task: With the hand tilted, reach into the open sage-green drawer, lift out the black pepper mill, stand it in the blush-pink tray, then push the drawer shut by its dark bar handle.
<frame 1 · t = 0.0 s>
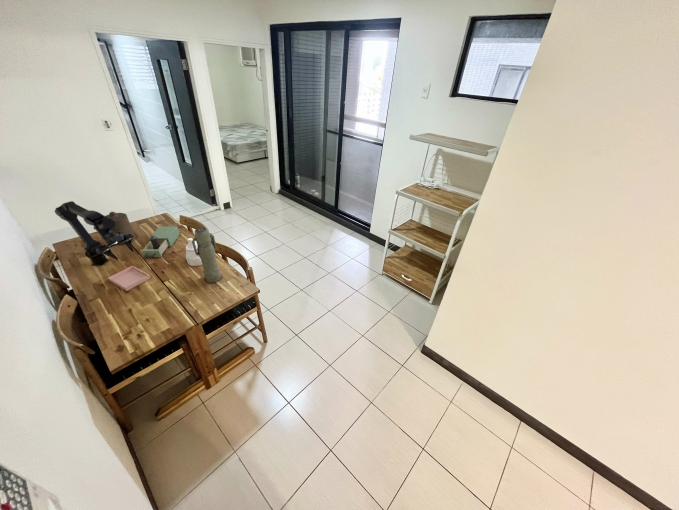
hand: (125, 255, 160), 15 cm above the table, tool tilted 35°, fingers open, 9 cm apart
pepper mill: (157, 248, 190), point 2 cm above the table, touching drawer
wooden container: (124, 239, 201), on the table
tray: (130, 279, 165), on the table
thermos: (213, 278, 171), on the table
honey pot: (198, 260, 185), on the table
cabinet: (166, 240, 203), on the table
drawer: (155, 248, 187), point 4 cm above the table, slide at 13.0 cm, touching pepper mill
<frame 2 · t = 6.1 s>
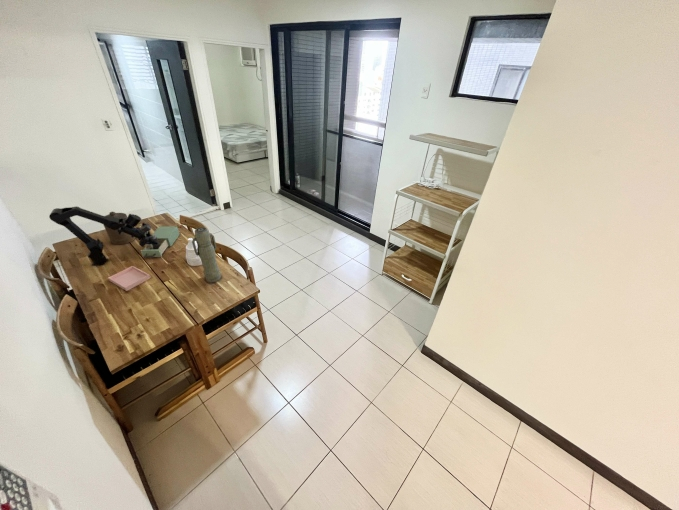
hand: (157, 242, 188), 7 cm above the table, tool tilted 45°, fingers closed on pepper mill, 4 cm apart
pepper mill: (157, 248, 190), point 2 cm above the table, touching drawer, gripper
everything else where it was.
when the fingers open (6 cm above the table, at t = 14.7 s): pepper mill stays where it is, resting on tray.
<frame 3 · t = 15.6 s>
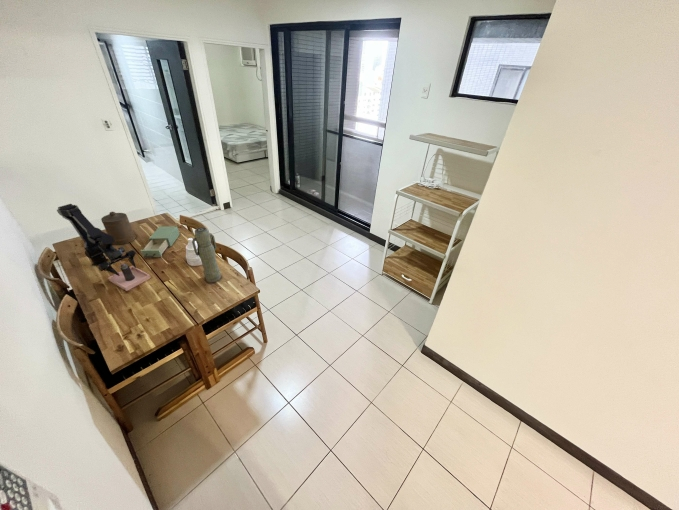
hand: (127, 271, 161), 7 cm above the table, tool tilted 45°, fingers open, 9 cm apart
pepper mill: (130, 278, 165), resting on tray
drawer: (155, 248, 187), point 4 cm above the table, slide at 13.0 cm
everything else where it was.
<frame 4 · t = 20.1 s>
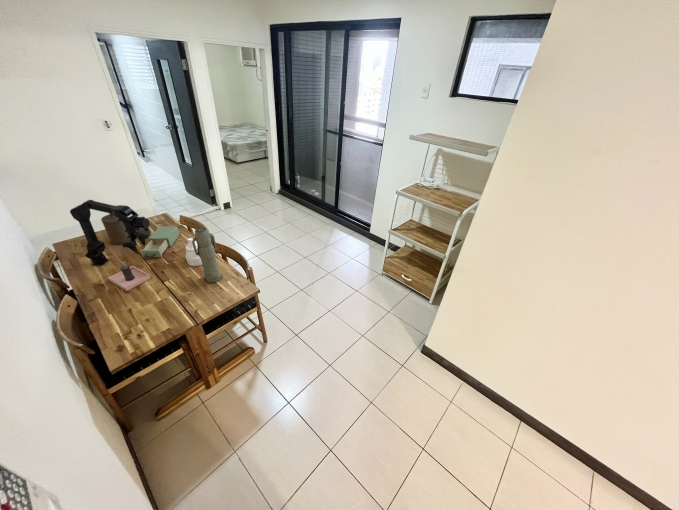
hand: (140, 249, 171), 12 cm above the table, tool pointing down, fingers open, 9 cm apart
nothing on the table moved.
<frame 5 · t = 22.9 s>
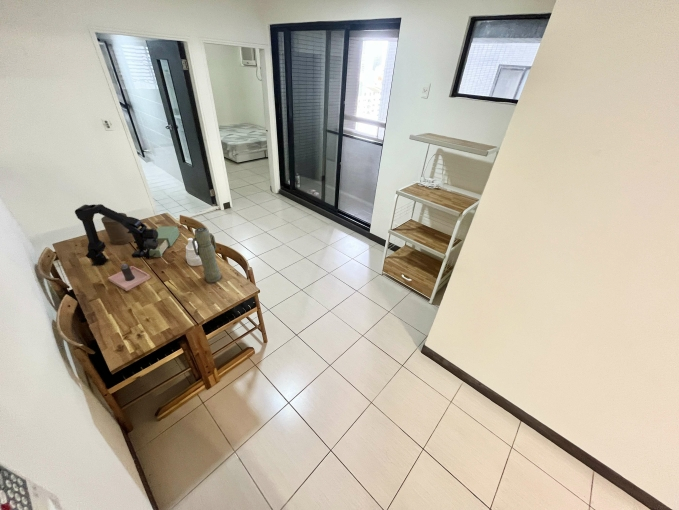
hand: (148, 258, 179), 3 cm above the table, tool pointing down, fingers closed
drawer: (155, 248, 187), point 4 cm above the table, slide at 12.7 cm, touching gripper
everything else where it was.
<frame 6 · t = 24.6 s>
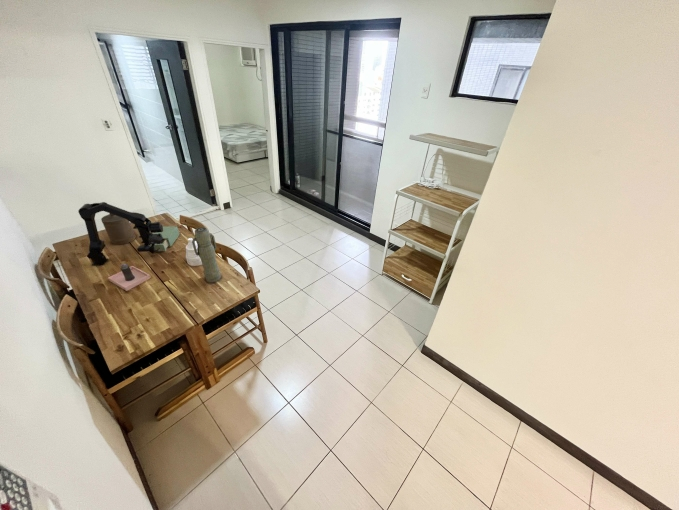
hand: (152, 253, 184), 3 cm above the table, tool pointing down, fingers closed
drawer: (159, 243, 193), point 4 cm above the table, slide at 5.9 cm, touching gripper
everything else where it was.
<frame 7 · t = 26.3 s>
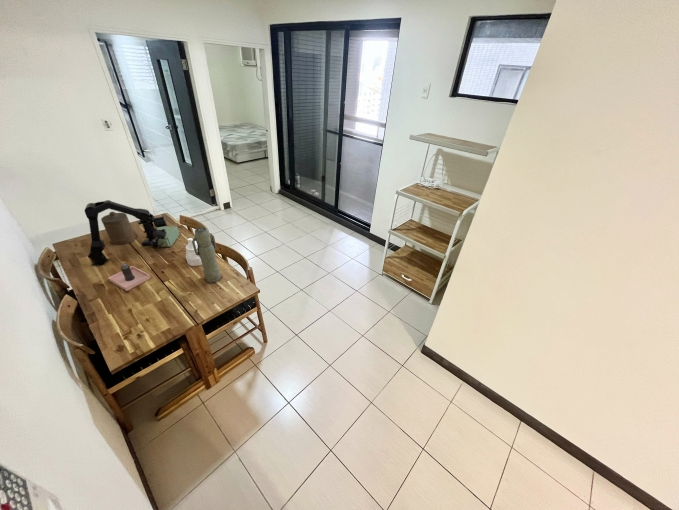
hand: (156, 248, 189), 3 cm above the table, tool pointing down, fingers closed
drawer: (162, 239, 198), point 4 cm above the table, slide at 0.0 cm, touching cabinet, gripper
everything else where it was.
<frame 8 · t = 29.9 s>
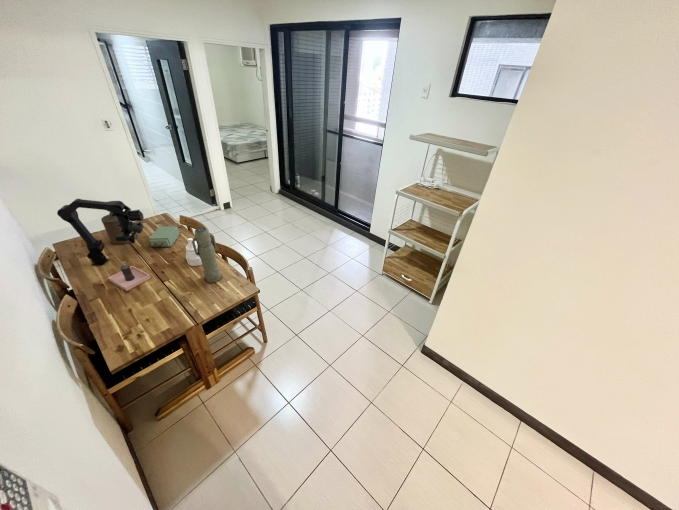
hand: (133, 243, 176), 12 cm above the table, tool pointing down, fingers closed
drawer: (162, 239, 198), point 4 cm above the table, slide at 0.0 cm, touching cabinet
everything else where it was.
at the end: pepper mill inside the target area in the tray (0.1 cm from its centre), point 0.5 cm above the tray's base; pepper mill tilted 0°; drawer slide at 0.0 cm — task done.
